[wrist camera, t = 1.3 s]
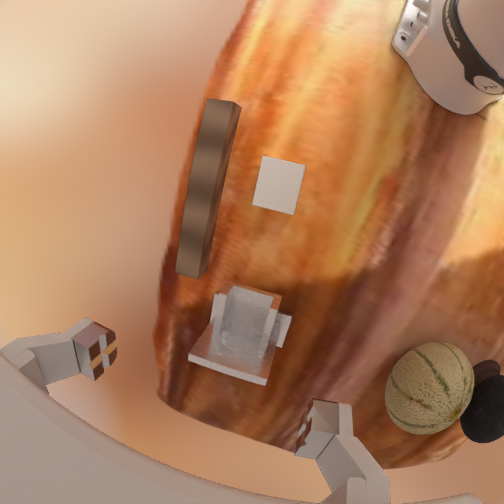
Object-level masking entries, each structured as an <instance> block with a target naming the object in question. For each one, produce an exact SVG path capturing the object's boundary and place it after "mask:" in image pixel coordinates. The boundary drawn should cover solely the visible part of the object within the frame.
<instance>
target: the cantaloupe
mask: <svg viewBox="0 0 504 504" xmlns="http://www.w3.org/2000/svg"><path fill="white" fill-rule="evenodd" d="M473 388H474V372H473V369H472V365H471V364H470V362H469V360H468V358H467V357H466V356H465V355H464V353H463V352H462V351H461V350H460V349H459V348H457V347H456V346H454V345H452V344H449V343H446V342H428V343H424V344H421V345H419V346H417V347H415V348H413V349H412V350H411V351H408V352H407V353H405V354H404V355H403V356H402V357H401V358H400V359H399V360H398V361H397V363H396V364H395V365H394V367H393V369H392V371H391V373H390V375H389V377H388V380H387V383H386V390H385V401H386V407H387V411H388V414H389V416H390V418H391V419H392V421H393V422H394V423H395V424H396V425H397V426H398V427H400V428H402V429H403V430H404V431H407V432H410V433H413V434H433V433H436V432H439V431H441V430H444V429H445V428H447V427H448V426H450V425H451V424H452V423H454V422H455V421H456V420H457V419H458V418H459V417H460V416H461V415H462V414H463V412H464V411H465V409H466V408H467V406H468V405H469V403H470V400H471V398H472V394H473Z"/></svg>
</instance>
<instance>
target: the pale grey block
mask: <svg viewBox="0 0 504 504" xmlns="http://www.w3.org/2000/svg"><path fill="white" fill-rule="evenodd" d="M305 169H306V165H302V164H298V163H294V162H290V161H286V160H281V159H277V158H273V157H268V156H263V157H262V161H261V166H260V171H259V175H258V180H257V185H256V189H255V194H254V199H253V204H252V205H255V206H259V207H263V208H267V209H271V210H275V211H279V212H283V213H287V214H291V215H293V214H294V212H295V210H296V207H297V203H298V199H299V194H300V190H301V186H302V182H303V178H304V173H305Z"/></svg>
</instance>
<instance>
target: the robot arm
mask: <svg viewBox="0 0 504 504" xmlns="http://www.w3.org/2000/svg"><path fill="white" fill-rule="evenodd" d="M401 37H402V38H404V39H405V41H404V40H402V39H401ZM392 46H393V48H394V49H395V50H396V51H397V52H398V54H399V55H400V56H402V57H403V58H404V59H405V60H406V62H407V63H408V65H409V66H410V68H411V70H412V72H413V74H414V76H415V78H416V80H417V81H418V83H419V84H420V86H421V87H422V88H423V90H424V91H425V92H426V93H427V94H428V95H429V96H430V97H431V98H432V99H433V100H434V101H435V102H437V103H438V104H439V105H441V106H442V107H444V108H446V109H448V110H450V111H452V112H455V113H458V114H463V115H469V114H474V113H477V112H479V111H480V110H481V109H483V108H484V107H485V106H486V105H487V104H489V103H490V102H495V101H498V100H500V99H501V98H502V97H503V95H504V0H407V2H406V5H405V8H404V10H403V13H402V16H401V19H400V21H399V24H398V27H397V30H396V32H395V35H394V38H393V40H392ZM115 339H116V337H115V333H114V332H113V331H112V330H110V329H108V328H106V327H104V326H102V325H101V324H99V323H97V322H94V321H93V320H91V319H89V318H83V319H82V320H81V321H79V322H78V323H77V324H75V325H74V326H72V327H71V328H69V329H68V330H67V331H65V332H64V333H60V332H59V333H52V334H46V335H38V336H31V337H24V338H17V339H15V340H14V341H12V342H11V343H9V344H8V345H7V346H5V347H4V348H3V349H1V350H0V504H391V495H390V481H389V477H388V475H387V474H386V473H385V472H384V470H383V469H382V468H381V467H380V466H379V464H378V463H377V462H376V461H375V459H374V458H373V457H372V456H371V454H370V453H369V452H368V451H367V449H366V448H365V447H364V446H363V444H362V443H361V442H360V441H359V439H358V438H357V437H353V421H352V406H351V405H350V404H345V403H337V402H332V401H326V400H321V399H316V398H312V399H311V400H310V402H309V404H308V410H307V411H305V412H304V414H303V416H302V418H301V421H300V424H299V429H298V434H299V436H300V437H299V439H298V440H297V442H296V449H295V456H299V457H305V458H310V459H315V460H316V462H317V464H318V466H319V468H320V470H321V472H322V474H323V476H324V478H325V480H326V482H327V484H328V486H329V487H330V490H331V492H332V494H331V495H329V496H328V497H327V498H326V499H325V500H323V501H322V502H321V503H311V502H302V501H295V500H288V499H282V498H277V497H271V496H266V495H261V494H257V493H252V492H248V491H244V490H240V489H236V488H233V487H229V486H225V485H222V484H219V483H216V482H212V481H209V480H206V479H203V478H200V477H197V476H195V475H192V474H189V473H186V472H184V471H181V470H179V469H176V468H174V467H171V466H169V465H167V464H164V463H162V462H159V461H157V460H155V459H153V458H151V457H149V456H146V455H144V454H142V453H140V452H138V451H136V450H134V449H132V448H130V447H128V446H126V445H125V444H123V443H120V442H119V441H117V440H115V439H113V438H112V437H110V436H108V435H107V434H105V433H103V432H101V431H100V430H98V429H97V428H95V427H93V426H92V425H90V424H88V423H87V422H85V421H84V420H82V419H81V418H79V417H78V416H76V415H75V414H73V413H72V412H70V411H69V410H68V409H66V408H65V407H64V406H62V405H61V404H60V403H58V402H57V401H56V400H54V399H53V398H51V397H50V396H49V392H48V390H47V387H46V385H47V384H50V383H53V382H56V381H59V380H62V379H65V378H68V377H71V376H74V375H77V374H80V373H82V374H84V375H85V376H87V377H89V378H91V379H92V380H94V381H96V380H97V379H98V377H100V376H101V375H102V374H103V372H104V368H105V367H109V366H111V365H112V363H113V362H114V360H115V358H116V356H117V347H116V345H115V344H114V341H115ZM405 504H483V503H482V502H481V501H480V500H479V499H478V498H477V497H475V496H474V495H473V494H470V493H466V494H460V495H456V496H451V497H446V498H441V499H435V500H428V501H422V502H413V503H405Z"/></svg>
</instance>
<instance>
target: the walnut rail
mask: <svg viewBox="0 0 504 504" xmlns="http://www.w3.org/2000/svg"><path fill="white" fill-rule="evenodd" d="M241 108H242V107H240V106H239V105H237V104H236V103H234V102H231V101H224V100H216V99H208V98H207V102H206V106H205V110H204V114H203V118H202V123H201V127H200V131H199V136H198V141H197V145H196V150H195V155H194V160H193V165H192V170H191V175H190V180H189V186H188V191H187V197H186V202H185V208H184V214H183V221H182V227H181V234H180V240H179V248H178V255H177V262H176V270H175V272H176V273H179V274H182V275H185V276H188V277H191V278H194V279H197V280H198V279H199V278H200V277H201V276H202V275H203V274H204V273H205V272H206V271H207V267H208V262H209V256H210V251H211V245H212V240H213V235H214V230H215V225H216V220H217V215H218V210H219V205H220V200H221V195H222V190H223V186H224V181H225V176H226V172H227V167H228V163H229V158H230V154H231V149H232V145H233V141H234V137H235V132H236V128H237V124H238V120H239V116H240V112H241Z"/></svg>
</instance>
